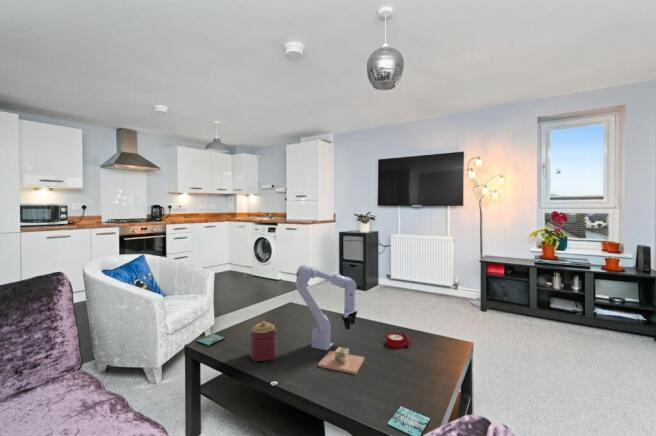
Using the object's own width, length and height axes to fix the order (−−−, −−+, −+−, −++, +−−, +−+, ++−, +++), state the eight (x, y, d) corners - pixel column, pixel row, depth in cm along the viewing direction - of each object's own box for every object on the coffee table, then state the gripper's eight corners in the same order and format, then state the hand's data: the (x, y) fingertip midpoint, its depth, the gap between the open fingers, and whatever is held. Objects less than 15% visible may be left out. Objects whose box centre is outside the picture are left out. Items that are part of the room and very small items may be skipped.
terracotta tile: (318, 366, 143) (318, 363, 143) (329, 353, 156) (329, 350, 156) (355, 374, 136) (355, 371, 136) (364, 359, 149) (364, 357, 149)
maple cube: (335, 361, 144) (335, 351, 144) (339, 357, 149) (338, 346, 149) (345, 364, 142) (345, 353, 142) (348, 359, 147) (348, 348, 147)
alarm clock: (381, 333, 171) (407, 327, 171) (384, 344, 171) (410, 337, 172) (386, 341, 160) (414, 334, 161) (388, 353, 161) (416, 346, 161)
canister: (282, 355, 153) (282, 320, 153) (260, 365, 144) (259, 328, 143) (266, 347, 162) (266, 314, 162) (244, 356, 153) (244, 321, 152)
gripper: (352, 306, 157) (352, 332, 158) (360, 298, 171) (361, 322, 171) (339, 304, 160) (339, 330, 160) (348, 296, 173) (348, 320, 174)
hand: (349, 326), depth 166 cm, fingers open, 7 cm apart
